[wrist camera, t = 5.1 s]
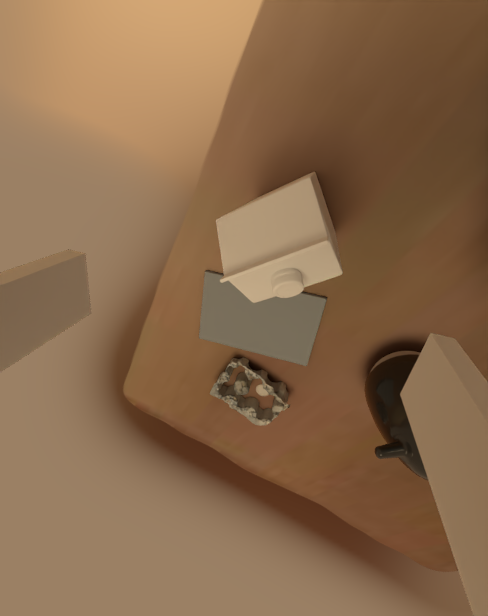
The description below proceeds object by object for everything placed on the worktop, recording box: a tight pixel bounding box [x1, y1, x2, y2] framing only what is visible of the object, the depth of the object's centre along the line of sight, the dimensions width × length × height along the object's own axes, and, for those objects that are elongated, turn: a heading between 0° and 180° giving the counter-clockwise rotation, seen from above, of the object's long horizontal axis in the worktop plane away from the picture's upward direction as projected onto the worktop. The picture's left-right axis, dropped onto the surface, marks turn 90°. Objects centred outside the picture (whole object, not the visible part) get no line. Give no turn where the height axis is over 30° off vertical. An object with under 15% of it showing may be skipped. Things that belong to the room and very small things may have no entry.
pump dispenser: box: [365, 351, 429, 481], centre depth 34 cm, size 10×10×15 cm
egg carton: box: [210, 357, 290, 425], centre depth 45 cm, size 11×8×4 cm
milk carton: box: [216, 172, 343, 303], centre depth 27 cm, size 7×7×19 cm
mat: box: [199, 270, 327, 366], centre depth 42 cm, size 16×10×1 cm, turn 81°
